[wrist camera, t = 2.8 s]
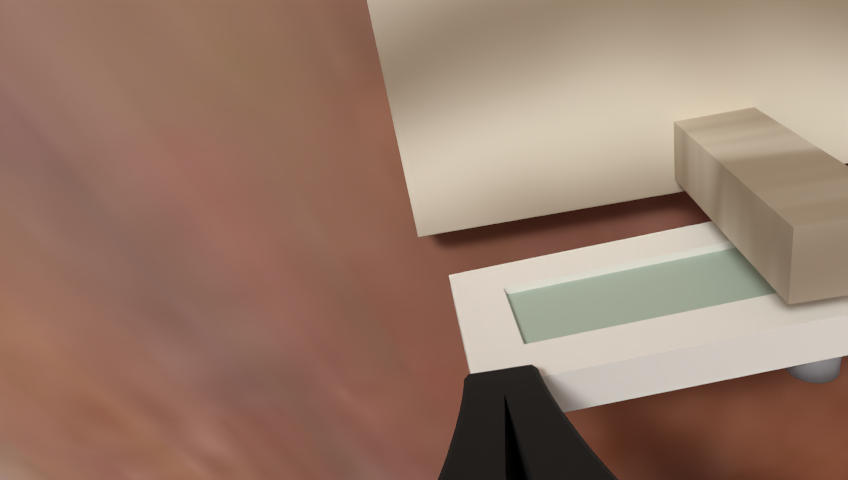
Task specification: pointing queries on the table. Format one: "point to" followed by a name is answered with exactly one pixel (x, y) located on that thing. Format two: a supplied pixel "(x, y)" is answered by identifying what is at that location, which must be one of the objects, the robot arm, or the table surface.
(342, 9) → the table surface
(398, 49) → the easel stand
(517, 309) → the frame
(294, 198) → the table surface
